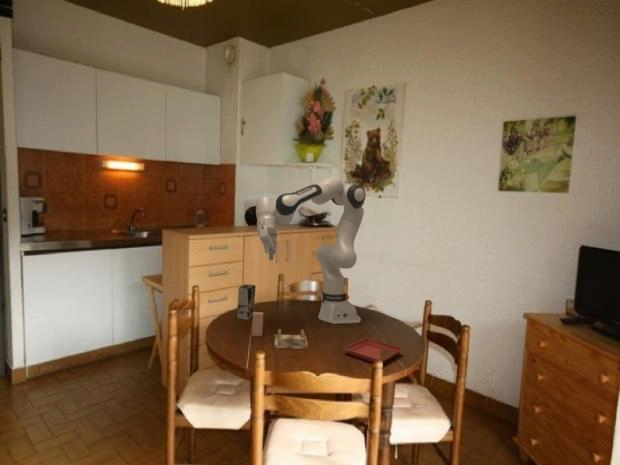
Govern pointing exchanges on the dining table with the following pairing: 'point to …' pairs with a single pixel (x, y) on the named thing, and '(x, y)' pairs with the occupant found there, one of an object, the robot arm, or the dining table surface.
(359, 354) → the plant saucer
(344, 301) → the robot arm
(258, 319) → the pinkish brown block
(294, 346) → the rack
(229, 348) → the dining table surface
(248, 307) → the coffee box
